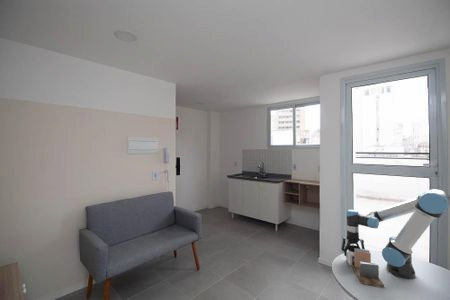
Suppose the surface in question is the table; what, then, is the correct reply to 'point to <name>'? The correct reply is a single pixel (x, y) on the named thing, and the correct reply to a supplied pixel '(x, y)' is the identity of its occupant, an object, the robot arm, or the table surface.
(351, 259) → the container
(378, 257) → the table surface
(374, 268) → the bookend
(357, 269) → the shelf
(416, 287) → the table surface
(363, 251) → the books
